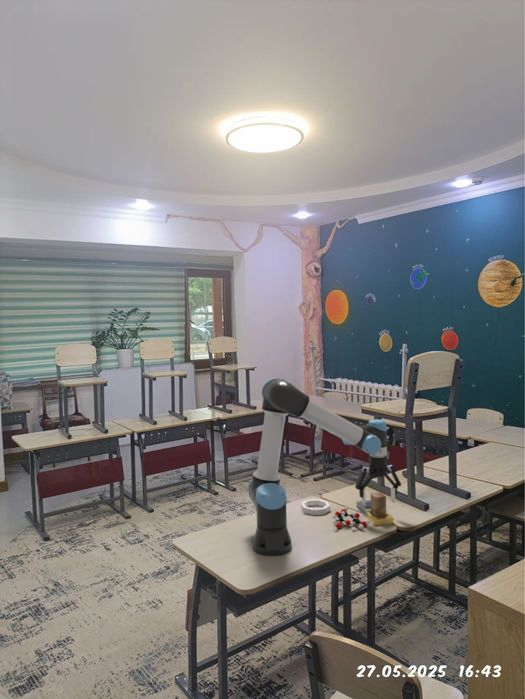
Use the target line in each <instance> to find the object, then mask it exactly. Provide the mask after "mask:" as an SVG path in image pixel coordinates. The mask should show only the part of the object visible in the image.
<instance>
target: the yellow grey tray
mask: <svg viewBox="0 0 525 699" xmlns="http://www.w3.org/2000/svg"><path fill="white" fill-rule="evenodd" d="M356 508H357V509H358V510H359V511H360V513H361V514H362V515H363V516H364V517H365V518H366V519H367V521H369V522H370V523H371V525H373V526H381V525H393V524H394V523H395V522H394V521H395V520H394V517H393V516H392V515H391V513H389V512H388V511H387V510H386V516H384V517H374V516H373V515H372V514H371V499H369V500H365V506H364V505H363V504H362V500H361V501H356Z"/></svg>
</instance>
